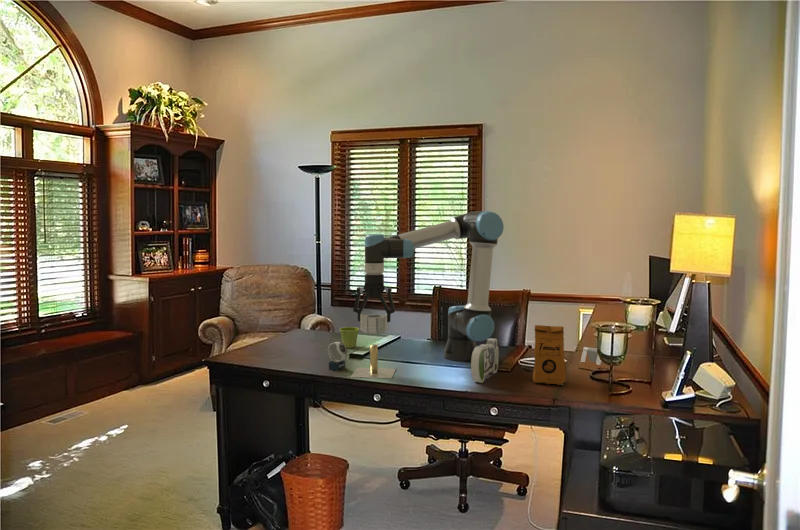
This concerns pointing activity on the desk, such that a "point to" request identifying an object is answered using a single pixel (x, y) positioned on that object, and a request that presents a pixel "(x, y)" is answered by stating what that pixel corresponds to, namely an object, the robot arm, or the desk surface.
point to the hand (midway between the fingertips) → (374, 329)
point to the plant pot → (349, 336)
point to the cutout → (484, 360)
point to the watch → (336, 364)
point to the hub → (373, 323)
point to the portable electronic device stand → (590, 355)
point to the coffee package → (549, 355)
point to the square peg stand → (374, 367)
